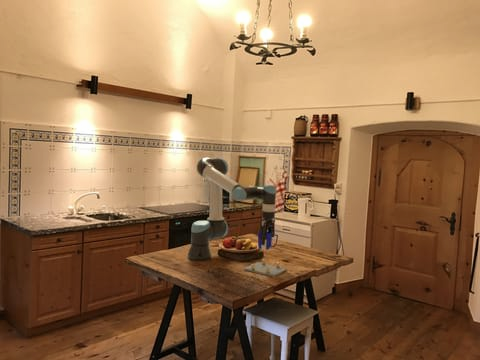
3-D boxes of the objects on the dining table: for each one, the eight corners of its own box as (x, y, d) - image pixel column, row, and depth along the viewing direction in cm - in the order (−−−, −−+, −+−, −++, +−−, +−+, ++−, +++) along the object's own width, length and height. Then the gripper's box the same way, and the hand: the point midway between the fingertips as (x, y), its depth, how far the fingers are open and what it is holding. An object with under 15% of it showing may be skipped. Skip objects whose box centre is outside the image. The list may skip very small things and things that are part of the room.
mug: (276, 251, 235) (277, 235, 234) (255, 249, 238) (256, 233, 237) (278, 248, 243) (278, 232, 242) (258, 246, 246) (259, 230, 245)
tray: (244, 270, 240) (244, 263, 239) (257, 263, 253) (257, 257, 253) (274, 277, 229) (274, 270, 229) (286, 270, 243) (286, 263, 242)
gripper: (266, 213, 228) (264, 253, 230) (281, 209, 245) (279, 246, 246) (254, 212, 232) (252, 251, 234) (270, 208, 248) (268, 244, 250)
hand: (266, 248), depth 240 cm, fingers closed on mug, 7 cm apart
